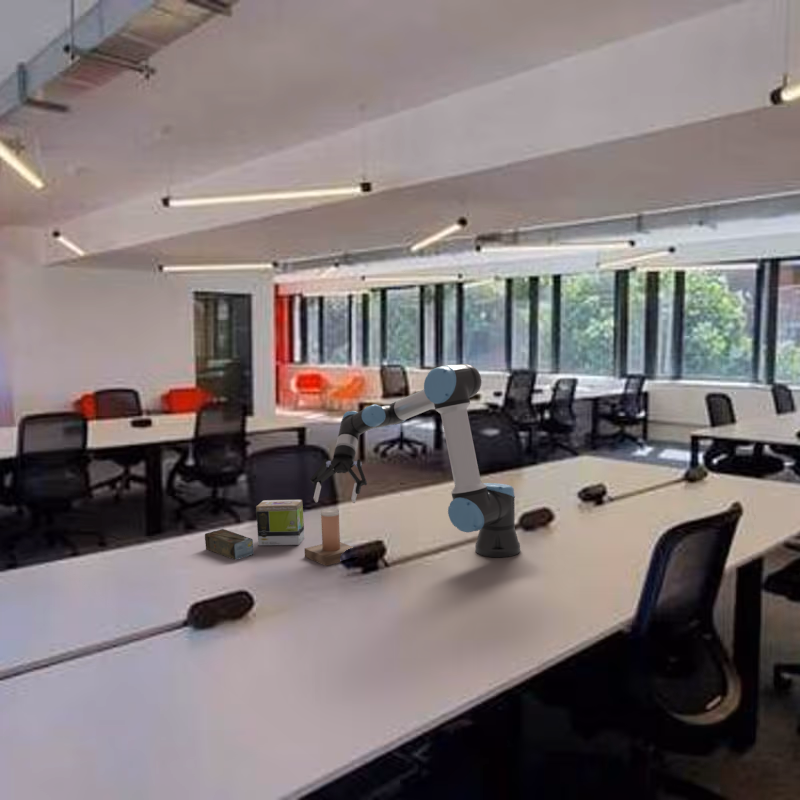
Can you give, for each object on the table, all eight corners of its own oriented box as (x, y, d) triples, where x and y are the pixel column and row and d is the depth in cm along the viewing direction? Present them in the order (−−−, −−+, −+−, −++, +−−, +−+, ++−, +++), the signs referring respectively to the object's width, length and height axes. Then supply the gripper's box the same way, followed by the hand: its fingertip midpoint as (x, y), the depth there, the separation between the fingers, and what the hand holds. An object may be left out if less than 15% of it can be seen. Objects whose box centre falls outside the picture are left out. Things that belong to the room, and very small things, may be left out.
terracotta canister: (343, 548, 262) (342, 510, 261) (328, 552, 259) (327, 513, 257) (333, 544, 267) (332, 507, 266) (319, 548, 263) (317, 510, 262)
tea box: (304, 538, 287) (303, 498, 286) (298, 546, 277) (296, 505, 276) (265, 538, 289) (263, 499, 287) (257, 546, 279) (255, 505, 277)
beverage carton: (234, 560, 263) (233, 541, 262) (204, 550, 276) (203, 532, 275) (254, 555, 268) (253, 536, 268) (223, 545, 282) (222, 527, 281)
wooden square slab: (358, 557, 262) (358, 548, 262) (326, 565, 254) (325, 556, 254) (336, 549, 272) (336, 540, 272) (304, 556, 264) (304, 548, 264)
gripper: (381, 456, 280) (371, 507, 267) (315, 455, 286) (303, 505, 273) (376, 444, 274) (366, 495, 261) (309, 443, 280) (296, 494, 267)
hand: (334, 500), depth 267 cm, fingers open, 13 cm apart
